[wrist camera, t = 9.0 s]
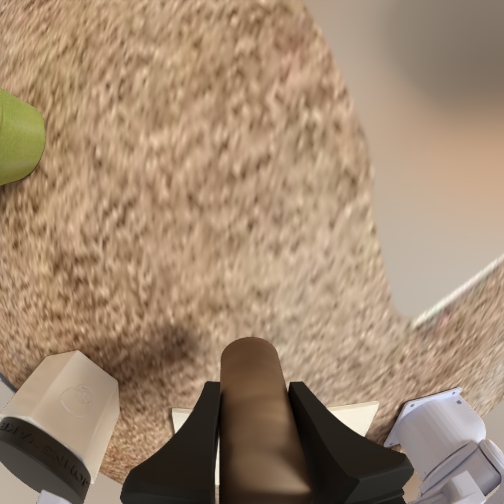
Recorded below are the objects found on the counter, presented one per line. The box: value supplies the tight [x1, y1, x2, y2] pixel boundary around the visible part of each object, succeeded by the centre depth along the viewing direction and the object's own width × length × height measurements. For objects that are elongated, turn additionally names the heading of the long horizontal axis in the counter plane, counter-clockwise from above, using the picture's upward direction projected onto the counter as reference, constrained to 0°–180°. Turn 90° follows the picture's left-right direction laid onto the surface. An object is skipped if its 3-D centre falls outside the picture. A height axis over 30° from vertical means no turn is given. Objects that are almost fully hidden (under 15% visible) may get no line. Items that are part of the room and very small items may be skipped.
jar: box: [0, 350, 120, 504], centre depth 16 cm, size 9×8×12 cm
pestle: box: [219, 337, 315, 504], centre depth 11 cm, size 3×3×9 cm
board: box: [172, 400, 379, 485], centre depth 25 cm, size 20×14×1 cm
